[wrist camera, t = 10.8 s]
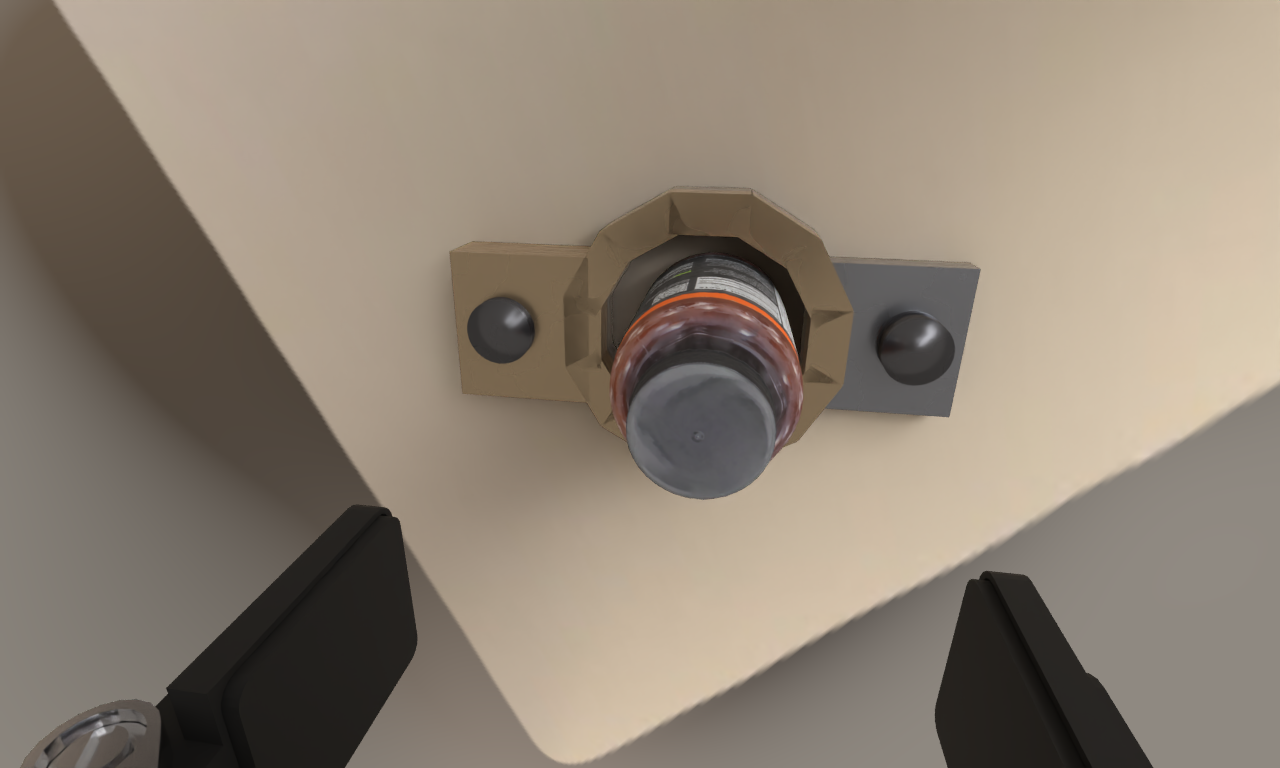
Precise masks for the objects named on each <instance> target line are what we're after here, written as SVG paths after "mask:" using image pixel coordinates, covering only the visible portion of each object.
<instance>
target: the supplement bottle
mask: <svg viewBox="0 0 1280 768" xmlns="http://www.w3.org/2000/svg"><path fill="white" fill-rule="evenodd" d="M792 330H793V329H792V328H790V325H789V321H788V318H787V314H786V310H785V307H784V304H783V302H782V299H781V297H780V295H779V293H778V291H777V288H776V287H775V286H774V284H773V282H772V281H771V280H770V279H769V277H768V276H767V275H766V274H765V273H764V272H763V271H762V270H761V269H760V268H758V267H757V266H755V265H754V264H752V263H751V262H749V261H747V260H745V259H743V258H740V257H738V256H734V255H730V254H725V253H711V252H708V253H703V254H698V255H694V256H691V257H687V258H685V259H683V260H681V261H679V262H677V263H675V264H674V265H672V266H671V267H670V268H669V269H667V270H666V271H665V272H664V273H663V274H662V275H661V276H659V277H658V279H657V280H656V281H655V282H654V283H653V285H652V287H651V288H650V289H649V291H648V293H647V295H646V297H645V299H644V300H643V302H642V304H641V305H640V308H639V310H638V312H637V313H636V315H635V317H634V319H633V321H632V323H631V325H630V327H629V329H628V330H627V331H626V334H625V336H624V338H623V339H622V342H621V344H620V346H619V348H618V350H617V353H616V355H615V359H614V362H613V366H612V371H611V376H610V392H609V395H610V401H611V407H612V412H613V415H614V418H615V420H616V423H617V425H618V427H619V429H620V431H621V433H622V435H623V437H624V438H625V439H626V441H627V443H628V447H629V450H630V452H631V454H632V457H633V459H634V460H635V462H636V464H637V465H638V467H639V468H640V469H641V471H642V472H643V473H644V474H645V475H646V476H647V477H648V478H649V479H650V480H652V481H653V482H654V483H655V484H657V485H658V486H660V487H662V488H663V489H665V490H667V491H669V492H671V493H673V494H676V495H680V496H683V497H687V498H695V499H703V500H704V499H714V498H719V497H725V496H728V495H730V494H733V493H736V492H738V491H740V490H742V489H743V488H745V487H746V486H748V485H749V484H751V483H752V482H753V481H754V480H755V479H757V478H758V477H759V475H760V474H761V473H762V472H763V471H764V469H765V467H766V466H767V464H768V463H769V461H770V460H772V459H773V457H774V456H775V455H776V454H777V453H778V452H779V451H780V450H781V449H782V448H783V447H784V446H785V444H786V443H787V442H788V441H789V439H790V437H791V435H792V433H793V432H794V430H795V428H796V425H797V423H798V421H799V418H800V415H801V411H802V404H803V378H802V372H801V368H800V364H799V358H798V352H797V350H796V346H795V343H794V339H793V335H792Z"/></svg>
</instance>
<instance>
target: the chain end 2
mask: <svg viewBox="0 0 1280 768" xmlns="http://www.w3.org/2000/svg"><path fill="white" fill-rule="evenodd" d="M673 189H692V190H724V191H751V193H752V192H754V193H755V194H757V195H758V196H760V197H761V198H763V199H764V200H766V201H767V202H769V203H770V204H772V205H774V206H775V207H777V208H778V209H780V210H781V211H783V212H784V213H786V214H787V215H789V216H790V217H792V218H793V219H795V220H796V221H798V222H800V223H801V224H803V225H804V226H806V227H807V228H809V229H810V230H812V231H813V232H815V233H816V231H815V230H814V229H813V228H811V227H810V226H808V225H807V224H805V223H804V222H802V221H801V220H799V219H797V218H796V217H794V216H793V215H791V214H790V213H788V212H787V211H785V210H784V209H782V208H781V207H779V206H778V205H776V204H775V203H773V202H771V201H770V200H768V199H767V198H765V197H764V196H762V195H761V194H759V193H758V192H756V191H755V190H753V189H751V188H721V187H688V186H676V187H673V188H671V189H670V190H673ZM670 190H668V191H670ZM668 191H666V192H668ZM666 192H664V193H666ZM664 193H662V194H661V195H663V194H664ZM661 195H659V196H661ZM659 196H657V197H659ZM657 197H655V198H654V199H656V198H657ZM654 199H652V200H654ZM652 200H650V201H652ZM650 201H648V202H650ZM648 202H646V203H645V204H647V203H648ZM645 204H643V205H645ZM643 205H641V206H643ZM641 206H639V207H641ZM639 207H637V208H636V209H638V208H639ZM636 209H634V210H636ZM634 210H632V211H634ZM632 211H630V212H629V213H631V212H632ZM629 213H627V214H629ZM627 214H625V215H627ZM625 215H623V216H625ZM623 216H621V217H620V218H622V217H623ZM620 218H618V219H620ZM618 219H616V220H618ZM616 220H614V221H616ZM614 221H613V222H614ZM613 222H611V223H613ZM611 223H610V224H611ZM608 225H609V224H608ZM816 234H817V233H816ZM829 258H830V260H831V262H832V264H833V266H834V268H835V271H836V273H837V275H838V277H839V279H840V282H841V284H842V286H843V288H844V290H845V293H846V295H847V297H848V299H849V301H850V304H851V306H852V308H853V310H854V315H853V322H852V329H851V336H850V343H849V350H848V357H847V364H846V371H845V378H844V385H843V386H842V388H841V389H840V390H839V391H838V393H837V394H836V395H835V396H834V397H833V399H832V400H831V401H830V402H829V404H828V405H827V406H826V407H825V408H827V409H841V410H855V411H869V412H883V413H897V414H911V415H925V416H939V417H949V416H950V411H951V407H952V402H953V397H954V392H955V388H956V383H957V378H958V374H959V369H960V364H961V359H962V355H963V350H964V345H965V340H966V336H967V331H968V326H969V321H970V317H971V312H972V307H973V302H974V298H975V293H976V288H977V284H978V279H979V274H980V268H978V267H976V266H975V265H973V264H971V263H966V262H942V261H919V260H896V259H872V258H849V257H829ZM631 261H632V260H631ZM631 261H630V262H629V264H630V263H631ZM629 264H628V266H629ZM628 266H627V267H626V269H627V268H628ZM626 269H625V271H626ZM625 271H624V272H623V274H624V273H625ZM623 274H622V276H623ZM622 276H621V277H620V279H621V278H622ZM620 279H619V281H620ZM619 281H618V282H617V284H618V283H619ZM617 284H616V286H617ZM616 286H615V287H614V289H615V288H616ZM614 289H613V291H614ZM613 291H612V293H613ZM612 293H611V294H610V296H609V298H608V299H607V351H608V353H609V355H610V356H611V358H612V360H613V361H614V359H615V355H616V353H617V349H616V347H615V345H614V344H613V342H612ZM807 317H808V312H807V310H806V308H805V311H804V320H803V329H802V338H801V347H800V353H799V355H798V358H799V364H800V365H801V363H802V360H803V351H804V343H805V334H806V325H807Z"/></svg>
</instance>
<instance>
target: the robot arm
mask: <svg viewBox="0 0 1280 768" xmlns="http://www.w3.org/2000/svg"><path fill="white" fill-rule="evenodd" d="M416 646H417V630H416V624H415V618H414V611H413V604H412V597H411V591H410V585H409V578H408V571H407V565H406V558H405V552H404V545H403V538H402V532H401V525H400V521H399V520H398V518H396V517H392V514H391V512H390V510H389V509H387V508H385V507H375V506H366V505H353V506H351V507H350V508H348V509H347V510H346V511H345V512H344V513H343V514H342V515H341V516H340V517H339V518H338V519H337V520H336V521H335V522H334V523H333V524H332V525H331V526H330V527H329V528H328V529H327V530H326V531H325V532H324V533H323V534H322V535H321V536H320V537H319V538H318V539H317V540H316V541H315V542H314V543H313V544H312V545H311V546H310V547H309V548H308V549H307V550H306V551H305V552H304V553H303V554H302V555H301V556H300V557H299V558H297V559H296V561H295V562H293V563H292V565H291V566H289V568H287V569H286V570H285V571H284V572H283V573H282V574H281V575H280V576H279V578H277V579H276V580H275V581H274V582H273V583H272V584H271V585H270V586H269V587H268V588H267V589H266V590H265V591H264V592H263V593H262V594H261V595H260V596H259V597H258V598H257V599H256V600H255V601H254V602H253V603H252V604H251V605H250V606H249V607H248V608H247V609H246V610H245V611H244V612H243V613H242V614H241V615H240V616H239V617H238V618H237V619H236V620H235V621H234V622H233V623H232V624H231V625H230V626H229V627H228V628H227V629H226V630H225V631H224V632H223V633H222V634H221V635H219V636H218V637H217V638H216V639H215V641H213V642H212V644H210V645H209V646H208V647H207V648H206V649H205V650H204V651H203V652H202V653H201V654H200V655H199V656H198V657H197V658H196V659H195V660H194V661H193V662H192V663H191V664H190V665H189V666H188V667H187V668H186V669H185V670H184V671H183V672H182V673H181V674H180V675H179V676H178V677H177V678H176V679H175V680H174V681H173V682H172V683H171V684H170V685H169V686H168V687H167V688H166V689H167V692H168V694H167V696H165V697H164V698H163V700H161V701H160V703H158V705H157V706H153V704H152V703H150V702H146V701H142V700H138V699H132V700H118V701H114V702H110V703H107V704H102V705H99V706H97V707H94V708H92V709H90V710H87V711H85V712H82V713H80V714H78V715H76V716H74V717H73V718H71V719H70V720H68V721H66V722H65V723H63V724H61V725H59V726H58V727H56V728H55V729H54V730H53V731H52V732H50V733H49V734H48V735H47V736H45V737H44V738H43V739H42V740H40V741H39V742H38V743H37V745H36V746H35V747H34V748H33V749H32V750H31V751H30V753H29V754H28V755H27V756H26V757H25V759H24V761H23V763H22V765H21V767H20V768H345V766H346V765H347V763H348V762H349V760H350V758H351V757H352V755H353V754H354V752H355V750H356V749H357V747H358V745H359V744H360V742H361V741H362V739H363V737H364V736H365V734H366V733H367V731H368V729H369V728H370V726H371V724H372V723H373V721H374V720H375V718H376V716H377V715H378V713H379V711H380V710H381V708H382V707H383V705H384V704H385V702H386V700H387V699H388V697H389V695H390V694H391V692H392V691H393V689H394V687H395V686H396V684H397V682H398V681H399V679H400V678H401V676H402V674H403V673H404V671H405V669H406V668H407V666H408V664H409V663H410V661H411V660H412V658H413V656H414V653H415V650H416ZM935 723H936V729H937V733H938V737H939V740H940V744H941V747H942V750H943V753H944V756H945V760H946V763H947V767H948V768H1153V767H1152V765H1151V763H1150V762H1149V760H1148V758H1147V757H1146V755H1145V753H1144V752H1143V750H1142V749H1141V747H1140V745H1139V744H1138V742H1137V741H1136V739H1135V737H1134V736H1133V734H1132V732H1131V731H1130V729H1129V727H1128V726H1127V724H1126V723H1125V721H1124V719H1123V718H1122V716H1121V714H1120V713H1119V711H1118V709H1117V708H1116V706H1115V704H1114V703H1113V701H1112V700H1111V698H1110V696H1109V695H1108V693H1107V691H1106V690H1105V688H1104V687H1103V686H1102V684H1101V683H1100V682H1099V681H1098V679H1097V678H1095V677H1094V676H1092V675H1091V674H1089V673H1086V672H1085V670H1084V669H1083V667H1082V665H1081V664H1080V662H1079V660H1078V659H1077V657H1076V655H1075V654H1074V652H1073V650H1072V649H1071V647H1070V645H1069V643H1068V642H1067V640H1066V638H1065V637H1064V635H1063V634H1062V632H1061V630H1060V628H1059V627H1058V625H1057V623H1056V622H1055V620H1054V618H1053V617H1052V615H1051V613H1050V612H1049V610H1048V608H1047V607H1046V605H1045V603H1044V602H1043V600H1042V598H1041V597H1040V595H1039V593H1038V592H1037V590H1036V588H1035V586H1034V585H1033V583H1032V581H1031V580H1030V579H1029V578H1028V577H1027V576H1025V575H1021V574H1011V573H1002V572H992V571H985V572H983V573H982V574H981V576H980V579H979V580H976V579H971V580H969V582H968V584H967V586H966V590H965V594H964V597H963V601H962V605H961V609H960V613H959V617H958V621H957V625H956V629H955V633H954V636H953V640H952V644H951V648H950V652H949V656H948V660H947V663H946V667H945V671H944V675H943V679H942V683H941V687H940V691H939V694H938V698H937V702H936V708H935Z"/></svg>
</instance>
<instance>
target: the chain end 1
mask: <svg viewBox="0 0 1280 768" xmlns="http://www.w3.org/2000/svg"><path fill="white" fill-rule="evenodd" d="M677 235H700V236H725V237H739V238H740V239H742V240H743V241H745V242H746V243H748V244H749V245H751V246H753V247H754V248H756V249H757V250H759V251H760V252H762V253H763V254H765V255H766V256H768V257H770V258H771V259H773V260H774V261H776V262H777V263H779V264H780V265H782V266H783V267H785V268H787V270H788V272H789V274H790V276H791V278H792V280H793V282H794V285H795V287H796V289H797V291H798V293H799V295H800V297H801V299H802V301H803V303H804V305H805V308H806V310H807V312H808V317H807V325H806V334H805V343H804V351H803V360H802V363H801V365H800V368H801V372H802V378H803V404H802V411H801V415H800V418H799V421H798V423H797V425H796V428H795V430H794V432H793V433H792V435H791V437H790V439H789V441H788V442H787V443H786V444H785V446H788V445H790V444H793V443H795V442H797V441H798V440H799V439H800V438H801V437H802V435H803V434H804V433H805V432H806V430H807V429H808V428H809V427H810V426H811V424H812V423H813V422H814V421H815V419H816V418H817V417H818V416H819V415H820V413H821V412H822V411H823V410H824V408H825V407H826V406H827V405H828V404H829V402H830V401H831V400H832V399H833V397H834V396H835V395H836V394H837V393H838V391H839V390H840V389H841V388H842V386H843V385H844V378H845V371H846V364H847V357H848V350H849V343H850V336H851V329H852V322H853V315H854V310H853V308H852V306H851V304H850V301H849V299H848V297H847V295H846V293H845V290H844V288H843V286H842V284H841V282H840V279H839V277H838V275H837V273H836V271H835V268H834V266H833V264H832V262H831V260H830V258H829V255H828V253H827V251H826V249H825V247H824V244H823V242H822V240H821V239H820V237H819V236H818V234H816V233H815V232H813V231H812V230H810V229H809V228H807V227H806V226H804V225H803V224H801V223H800V222H798V221H796V220H795V219H793V218H792V217H790V216H789V215H787V214H786V213H784V212H783V211H781V210H780V209H778V208H777V207H775V206H774V205H772V204H770V203H769V202H767V201H766V200H764V199H763V198H761V197H760V196H758V195H757V194H755V193H754V192H752V193H751V191H724V190H692V189H673V190H670V191H668V192H666V193H664V194H663V195H661V196H659V197H657V198H656V199H654V200H652V201H650V202H648V203H647V204H645V205H643V206H641V207H639V208H638V209H636V210H634V211H632V212H631V213H629V214H627V215H625V216H623V217H622V218H620V219H618V220H616V221H614V222H613V223H611V224H609V225H607V226H606V227H604V228H603V229H602V230H600V232H599V233H598V235H597V237H596V239H595V240H594V242H593V244H592V246H568V245H545V244H521V243H498V242H475V241H473V242H471V243H468V244H466V245H464V246H461V247H459V248H457V249H455V250H452V251H450V260H451V271H452V282H453V293H454V304H455V315H456V326H457V337H458V348H459V359H460V370H461V381H462V392H463V394H476V395H489V396H503V397H516V398H530V399H543V400H557V401H571V402H584V403H587V404H588V405H589V407H590V409H591V410H592V412H593V414H594V415H595V417H596V419H597V420H598V422H599V424H600V425H602V427H603V428H605V429H606V430H608V431H610V432H611V433H613V434H615V435H616V436H618V437H620V438H621V439H623V440H625V441H626V439H625V438H624V437H623V435H622V433H621V431H620V429H619V427H618V425H617V423H616V420H615V418H614V415H613V412H612V407H611V401H610V395H609V392H610V376H611V371H612V366H613V362H614V361H613V360H612V358H611V356H610V355H609V353H608V351H607V299H608V298H609V296H610V294H611V293H612V291H613V289H614V287H615V286H616V284H617V282H618V281H619V279H620V277H621V276H622V274H623V272H624V271H625V269H626V267H627V266H628V264H629V262H630V261H631V260H633V259H634V258H636V257H638V256H640V255H642V254H644V253H646V252H647V251H649V250H651V249H653V248H655V247H657V246H659V245H661V244H662V243H664V242H666V241H668V240H670V239H672V238H674V237H676V236H677ZM626 442H627V441H626ZM785 446H784V447H785Z"/></svg>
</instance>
